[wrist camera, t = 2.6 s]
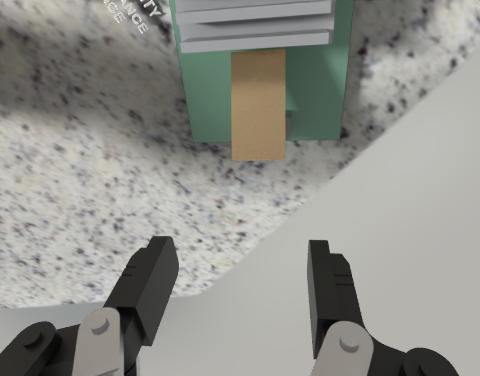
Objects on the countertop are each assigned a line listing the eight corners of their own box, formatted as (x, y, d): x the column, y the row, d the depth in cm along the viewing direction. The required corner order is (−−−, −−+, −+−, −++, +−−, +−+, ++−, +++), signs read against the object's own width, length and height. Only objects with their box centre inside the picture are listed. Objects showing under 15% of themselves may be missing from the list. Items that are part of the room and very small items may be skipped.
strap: (285, 160, 24) (285, 159, 23) (233, 160, 24) (231, 160, 23) (285, 53, 23) (285, 48, 22) (232, 56, 24) (230, 52, 23)
